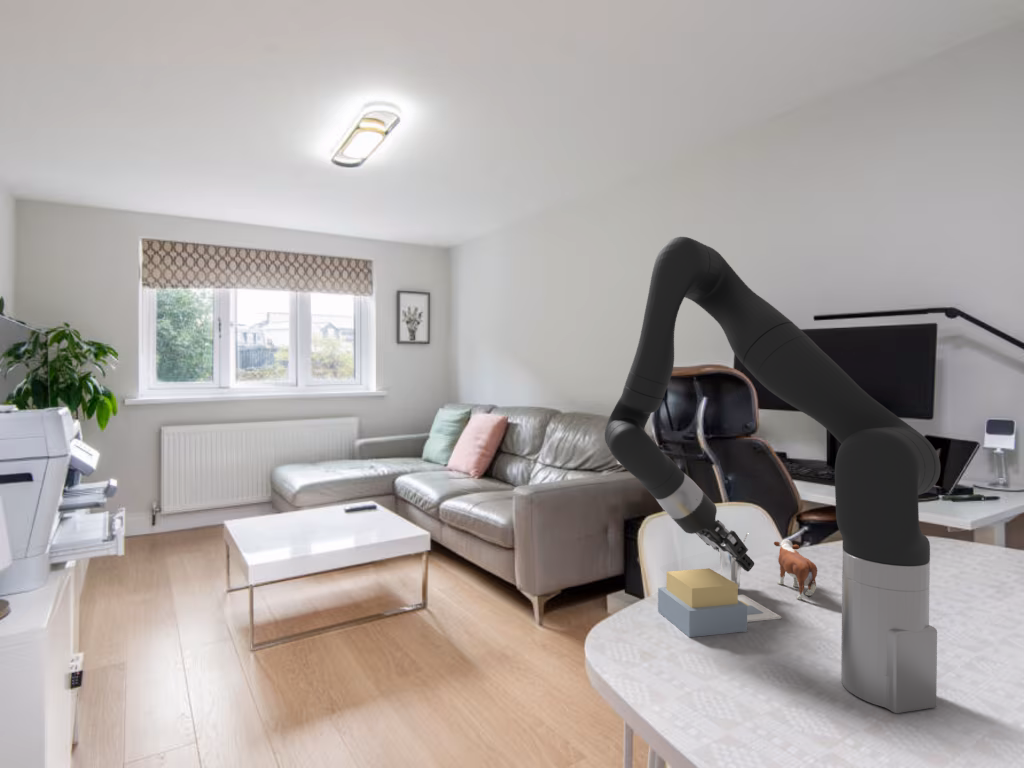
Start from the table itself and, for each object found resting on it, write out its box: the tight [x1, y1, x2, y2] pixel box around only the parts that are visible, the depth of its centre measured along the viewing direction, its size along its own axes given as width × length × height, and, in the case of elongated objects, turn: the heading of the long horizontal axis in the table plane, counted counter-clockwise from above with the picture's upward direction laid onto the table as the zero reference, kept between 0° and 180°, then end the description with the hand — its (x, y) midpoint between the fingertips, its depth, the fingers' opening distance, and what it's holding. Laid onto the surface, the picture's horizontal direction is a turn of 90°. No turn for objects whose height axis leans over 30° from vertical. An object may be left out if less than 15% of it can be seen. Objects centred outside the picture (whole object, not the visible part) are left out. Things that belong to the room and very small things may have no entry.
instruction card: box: [738, 594, 782, 623], centre depth 98 cm, size 10×7×1 cm
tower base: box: [657, 568, 748, 638], centre depth 93 cm, size 10×10×7 cm
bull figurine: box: [773, 538, 818, 601], centre depth 108 cm, size 4×13×8 cm, turn 174°
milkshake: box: [718, 532, 749, 589], centre depth 108 cm, size 4×5×10 cm
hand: (741, 563), depth 108 cm, fingers closed on milkshake, 4 cm apart
